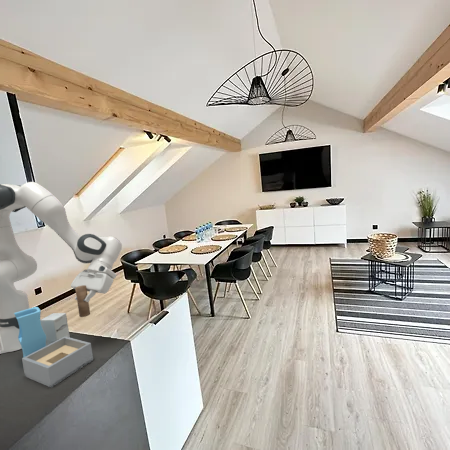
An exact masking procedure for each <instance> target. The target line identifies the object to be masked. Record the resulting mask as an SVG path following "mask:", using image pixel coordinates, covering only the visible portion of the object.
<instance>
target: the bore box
mask: <svg viewBox="0 0 450 450" xmlns="http://www.w3.org/2000/svg"><path fill="white" fill-rule="evenodd" d="M21 360H22V367H23V371H24V377H25V378H27V379H30V380H32V381H34V382H37V383H39V384H42V385H44V386H46V387H48V388H50V389H52V388H53V387H55V386H56V385H58V384H60V382H63V381H64V380H66V378H68V377H70V376H72V375H73V374H74V373H76V372H78V371H79V370H81V369H83V368H84V367H86V366H87V365H88V364H90V363H92V362H93V361H94V356H93V349H92V343H91V342H88V341H83V340H80V339H76V338H73V337H70V338H69V337H66V336H65V337H63V338H61V339H59V340H57V341H55V342H53V343H51V344H49V345H47V346H45V347H43V348H41V349H39V350H38V351H36V352H34V353H32V354H30V355H28V356H26V357H24V358H23V357H22V358H21Z"/></svg>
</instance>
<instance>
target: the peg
mask: <svg viewBox="0 0 450 450" xmlns="http://www.w3.org/2000/svg"><path fill="white" fill-rule="evenodd" d="M74 290H75V295H76V296H77V300H76V303H77V309H78V313H79V314H78V315H79V317H80V318H85V317H88V316H90V315H91V310H90V301H89V302H85V301H83V299H84V297H85V296H87V295H88V291H87V288H86V285H82V286H78V287H76V288H75V289H74ZM76 296H75V297H76Z"/></svg>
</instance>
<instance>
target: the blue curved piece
mask: <svg viewBox="0 0 450 450" xmlns="http://www.w3.org/2000/svg"><path fill="white" fill-rule="evenodd" d="M29 308H30V307H29ZM41 312H42V311H41V309H40V308H39V307H38V306H34V307H31V308H30V309H26V310H23V311H19V312H16V313H14V314H15V316H16V318H17V320H18V323H19V336H18V339H19V342H20V344H21V347H22V349H21V351H22V358H24V357H26V356H28V355H30V354H32V353H34V352H36V351H38V350H39V349H41V348H43V347H45V346H46V335H45V333H44V331H43V329H42V326H41V321H40V320H41V314H42V313H41Z"/></svg>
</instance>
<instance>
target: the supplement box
mask: <svg viewBox="0 0 450 450" xmlns="http://www.w3.org/2000/svg"><path fill="white" fill-rule="evenodd" d="M40 321H41V326H42V329H43V331H44V333H45V335H46V346H47V345H49V344H51V343H53V342H55V341H57V340H59V339H61V338H63V337H65V336H66V337H69V338H71V337H70V330H69V325H68V324H69V323H68V318H67V313H66V312H53V313H51V314H49V315H47V316H46V317H45V316H44V317H43V318H40Z"/></svg>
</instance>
